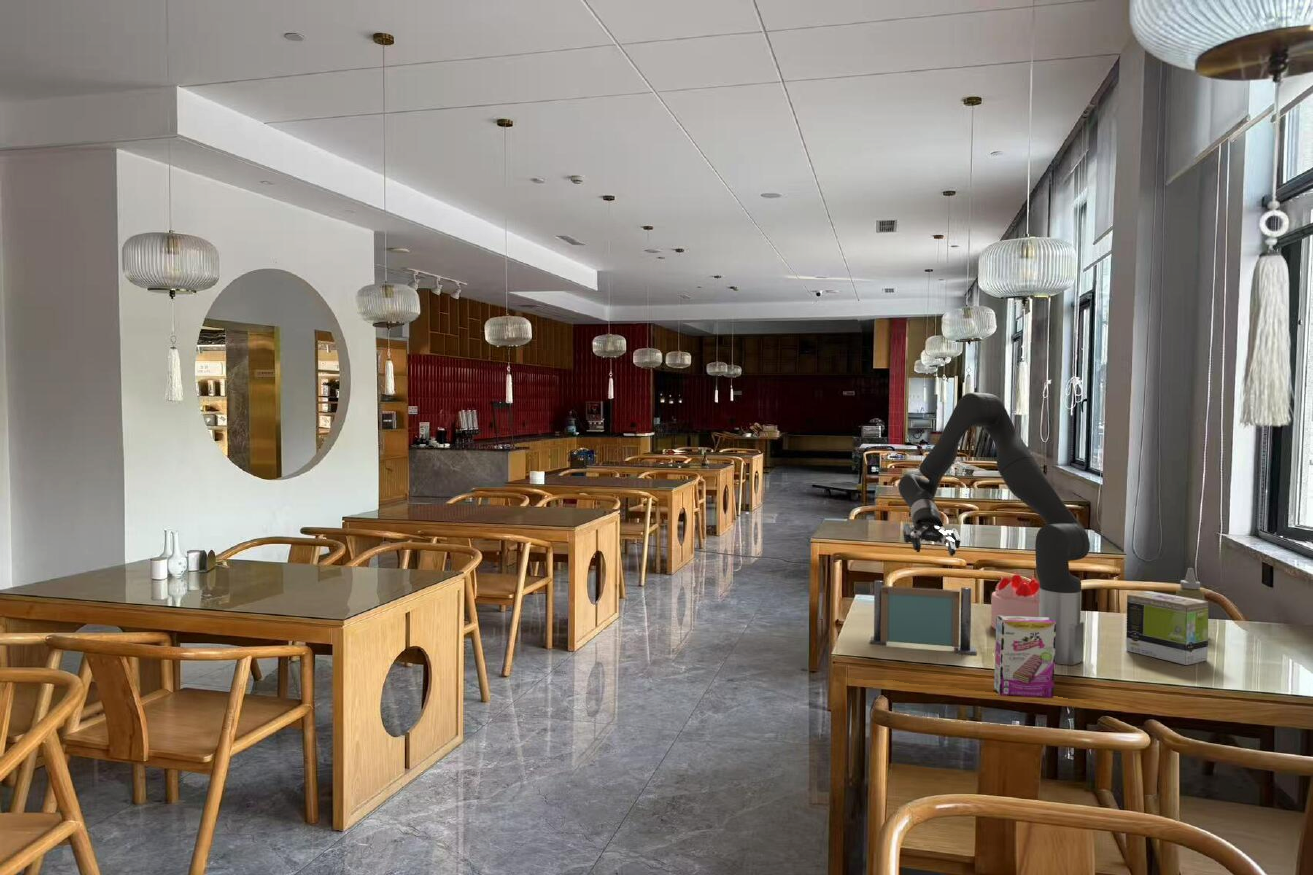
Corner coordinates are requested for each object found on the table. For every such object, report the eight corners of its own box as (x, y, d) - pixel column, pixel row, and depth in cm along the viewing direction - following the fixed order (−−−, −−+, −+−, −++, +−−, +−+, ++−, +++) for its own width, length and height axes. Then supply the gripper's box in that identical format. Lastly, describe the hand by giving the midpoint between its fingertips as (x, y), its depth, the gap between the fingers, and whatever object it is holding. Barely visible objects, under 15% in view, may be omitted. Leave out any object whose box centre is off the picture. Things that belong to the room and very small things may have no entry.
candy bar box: (1000, 697, 182) (1001, 620, 181) (993, 689, 187) (994, 614, 186) (1055, 699, 181) (1056, 621, 180) (1047, 691, 186) (1048, 616, 185)
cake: (987, 619, 250) (988, 570, 250) (1062, 623, 245) (1063, 574, 245) (994, 635, 232) (995, 583, 231) (1076, 641, 226) (1077, 587, 226)
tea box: (1208, 660, 209) (1210, 600, 209) (1185, 666, 204) (1187, 604, 204) (1147, 645, 222) (1148, 589, 222) (1124, 651, 217) (1125, 593, 217)
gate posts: (974, 647, 220) (975, 585, 219) (976, 654, 213) (977, 590, 213) (870, 639, 227) (871, 579, 226) (869, 646, 220) (870, 584, 220)
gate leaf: (958, 645, 217) (959, 590, 217) (958, 647, 216) (959, 591, 215) (880, 639, 223) (881, 585, 222) (880, 641, 221) (881, 587, 220)
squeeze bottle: (1175, 636, 232) (1177, 569, 231) (1168, 629, 239) (1170, 564, 239) (1210, 639, 229) (1212, 571, 228) (1202, 631, 237) (1203, 566, 236)
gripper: (902, 503, 236) (910, 536, 222) (955, 509, 235) (966, 542, 220) (897, 526, 239) (905, 560, 225) (949, 532, 238) (960, 566, 224)
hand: (935, 551), depth 223 cm, fingers open, 8 cm apart
